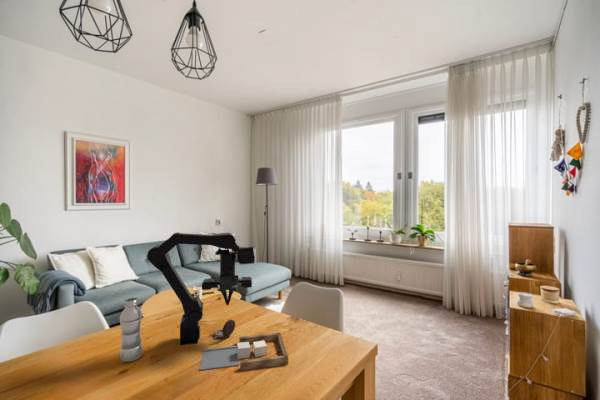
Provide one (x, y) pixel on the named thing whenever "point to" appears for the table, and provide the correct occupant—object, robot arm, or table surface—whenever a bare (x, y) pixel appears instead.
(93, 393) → the table surface
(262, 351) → the white square block
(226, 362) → the rubber tray
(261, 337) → the walnut corral
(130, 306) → the plastic bottle
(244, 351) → the cream matte cube
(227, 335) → the compass
